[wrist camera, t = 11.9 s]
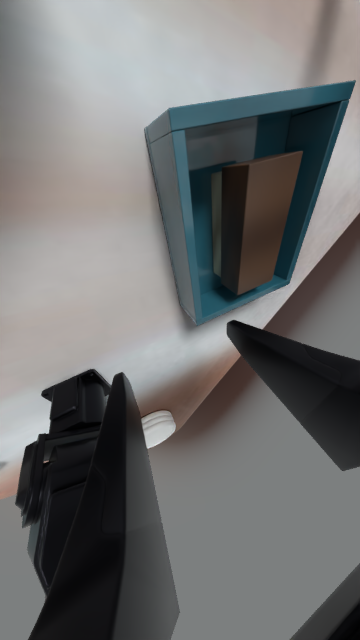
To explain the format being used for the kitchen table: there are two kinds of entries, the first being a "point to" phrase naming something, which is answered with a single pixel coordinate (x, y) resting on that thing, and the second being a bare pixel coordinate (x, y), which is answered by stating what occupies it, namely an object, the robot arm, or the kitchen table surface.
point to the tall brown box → (251, 218)
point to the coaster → (157, 427)
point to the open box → (230, 148)
